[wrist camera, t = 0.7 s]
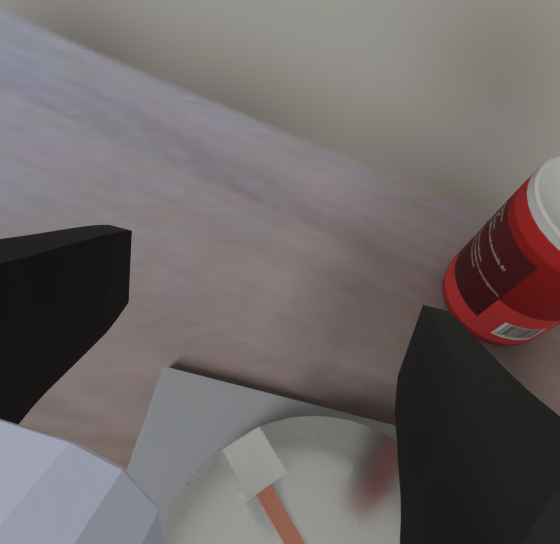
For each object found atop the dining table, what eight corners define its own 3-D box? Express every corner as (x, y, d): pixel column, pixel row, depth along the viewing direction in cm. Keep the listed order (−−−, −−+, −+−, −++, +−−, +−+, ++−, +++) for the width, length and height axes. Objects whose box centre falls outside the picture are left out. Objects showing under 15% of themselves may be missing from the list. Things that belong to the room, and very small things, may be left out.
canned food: (562, 314, 35) (700, 229, 26) (494, 371, 32) (624, 299, 22) (487, 236, 38) (589, 133, 28) (417, 282, 34) (505, 183, 25)
